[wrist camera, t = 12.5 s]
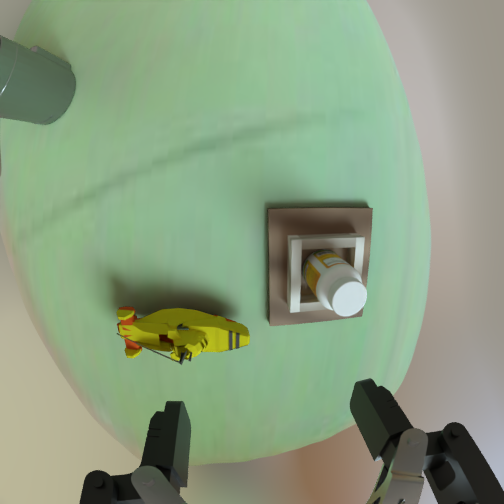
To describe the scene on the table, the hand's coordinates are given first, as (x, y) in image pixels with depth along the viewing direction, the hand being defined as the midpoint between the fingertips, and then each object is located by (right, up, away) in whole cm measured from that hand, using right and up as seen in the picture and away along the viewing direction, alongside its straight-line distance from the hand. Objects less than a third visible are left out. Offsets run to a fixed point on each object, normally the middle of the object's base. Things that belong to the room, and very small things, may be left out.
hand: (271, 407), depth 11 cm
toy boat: (-11, -2, +26) cm, 28 cm away
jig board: (+8, +5, +25) cm, 27 cm away
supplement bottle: (+8, +5, +24) cm, 26 cm away
